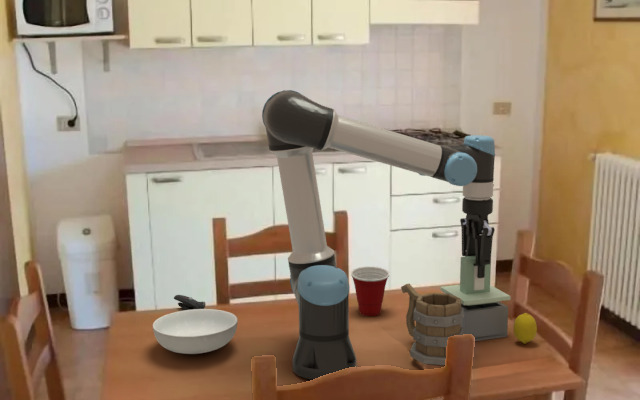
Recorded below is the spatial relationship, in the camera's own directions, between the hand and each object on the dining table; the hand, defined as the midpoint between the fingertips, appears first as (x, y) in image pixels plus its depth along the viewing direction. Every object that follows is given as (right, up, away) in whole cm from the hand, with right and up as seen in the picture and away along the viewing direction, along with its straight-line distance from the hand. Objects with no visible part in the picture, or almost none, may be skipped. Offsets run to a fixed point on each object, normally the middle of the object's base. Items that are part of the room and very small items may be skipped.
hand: (474, 287), depth 199 cm
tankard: (-13, -14, -10) cm, 22 cm away
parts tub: (0, -12, +2) cm, 12 cm away
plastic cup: (-26, -9, +18) cm, 33 cm away
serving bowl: (-71, -15, -6) cm, 72 cm away
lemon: (+11, -13, -6) cm, 19 cm away
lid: (0, -3, +1) cm, 3 cm away
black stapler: (-77, -10, +20) cm, 80 cm away
